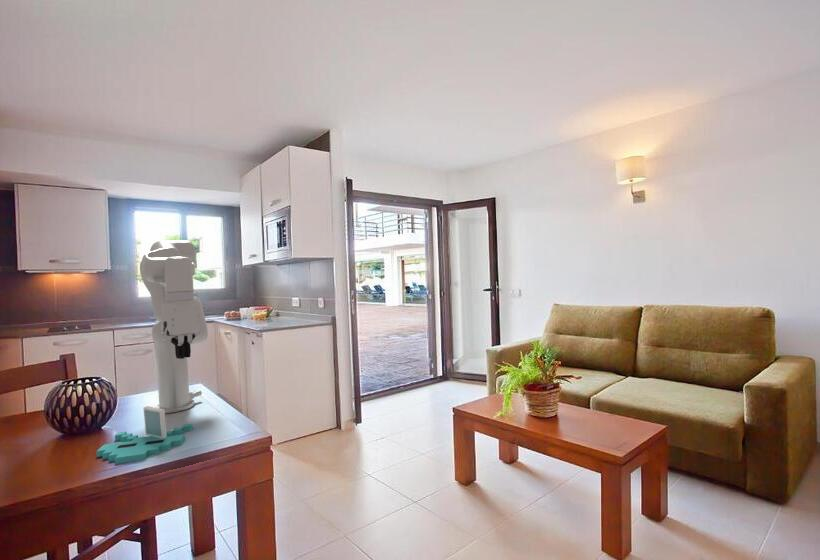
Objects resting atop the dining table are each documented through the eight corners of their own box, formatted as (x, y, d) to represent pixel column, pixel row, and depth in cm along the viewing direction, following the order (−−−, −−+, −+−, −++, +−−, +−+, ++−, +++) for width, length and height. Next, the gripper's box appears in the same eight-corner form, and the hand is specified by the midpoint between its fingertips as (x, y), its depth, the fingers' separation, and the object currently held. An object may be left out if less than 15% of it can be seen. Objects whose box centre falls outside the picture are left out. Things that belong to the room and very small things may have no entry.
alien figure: (118, 440, 122) (84, 470, 103) (118, 432, 122) (83, 462, 103) (192, 430, 127) (173, 458, 108) (192, 423, 127) (173, 449, 108)
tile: (149, 433, 120) (147, 406, 120) (166, 437, 117) (164, 409, 116) (145, 434, 119) (143, 407, 119) (162, 438, 116) (160, 410, 115)
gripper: (195, 295, 134) (198, 352, 135) (146, 299, 120) (150, 362, 121) (210, 295, 131) (213, 353, 131) (162, 299, 117) (166, 364, 117)
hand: (183, 357), depth 126 cm, fingers closed
